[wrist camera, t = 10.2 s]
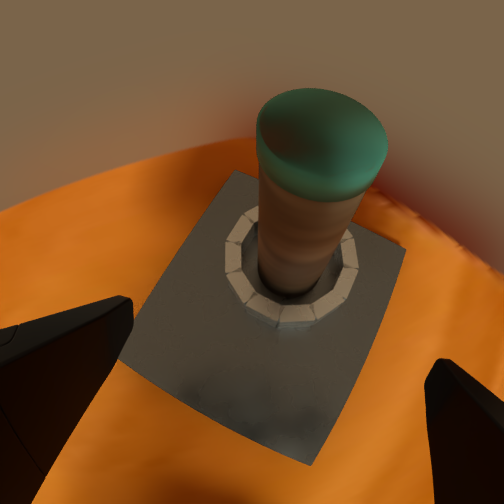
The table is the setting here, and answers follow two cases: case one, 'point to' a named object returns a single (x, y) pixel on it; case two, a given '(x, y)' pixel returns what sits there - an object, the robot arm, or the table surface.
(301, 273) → the travel tumbler
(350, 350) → the hub
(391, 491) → the table surface
